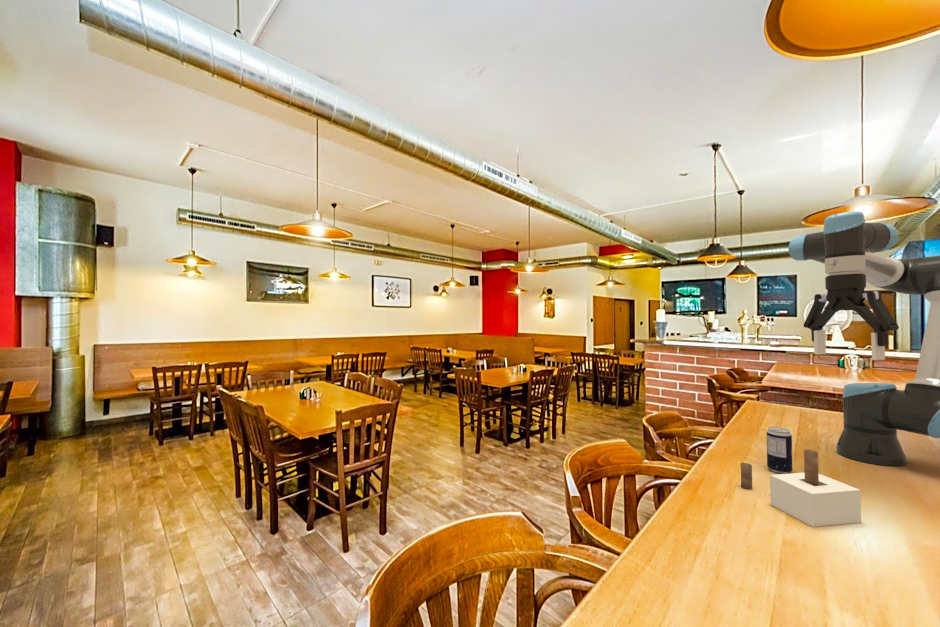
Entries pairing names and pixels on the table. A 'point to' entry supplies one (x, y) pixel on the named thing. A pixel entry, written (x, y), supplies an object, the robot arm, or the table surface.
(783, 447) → the beverage can
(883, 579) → the table surface
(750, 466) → the short pin
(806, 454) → the long pin
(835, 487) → the hole block
